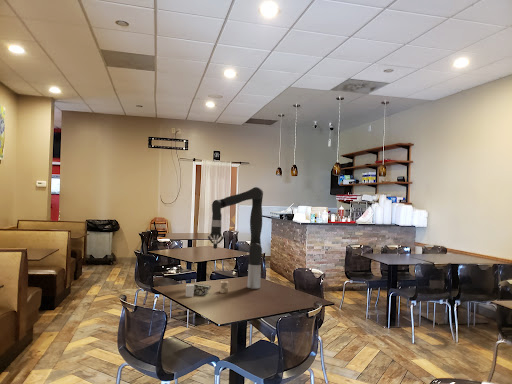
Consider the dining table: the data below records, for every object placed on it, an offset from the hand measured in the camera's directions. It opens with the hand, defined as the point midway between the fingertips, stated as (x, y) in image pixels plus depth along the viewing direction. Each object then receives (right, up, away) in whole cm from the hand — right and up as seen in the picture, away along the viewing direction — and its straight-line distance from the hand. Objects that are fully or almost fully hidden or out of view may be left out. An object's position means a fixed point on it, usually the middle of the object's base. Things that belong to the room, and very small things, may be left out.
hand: (215, 248), depth 274 cm
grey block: (-12, -25, -39) cm, 48 cm away
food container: (-5, -24, -27) cm, 36 cm away
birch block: (+9, -26, -24) cm, 37 cm away
